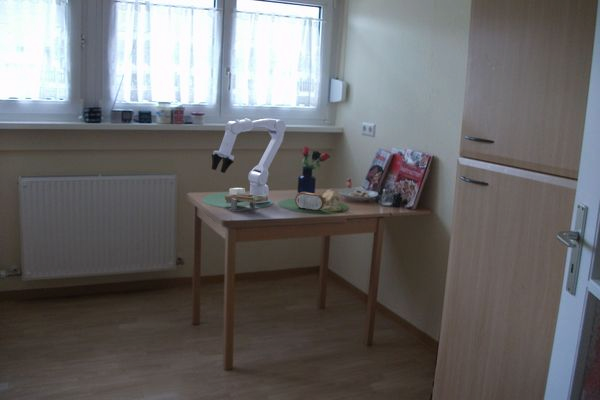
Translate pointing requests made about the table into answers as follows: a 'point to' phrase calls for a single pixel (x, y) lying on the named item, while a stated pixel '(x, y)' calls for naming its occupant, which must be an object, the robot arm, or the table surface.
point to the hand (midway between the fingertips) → (218, 171)
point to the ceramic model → (331, 201)
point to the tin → (309, 201)
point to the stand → (235, 208)
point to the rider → (237, 192)
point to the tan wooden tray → (247, 198)
